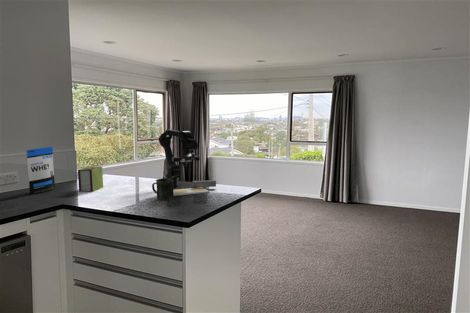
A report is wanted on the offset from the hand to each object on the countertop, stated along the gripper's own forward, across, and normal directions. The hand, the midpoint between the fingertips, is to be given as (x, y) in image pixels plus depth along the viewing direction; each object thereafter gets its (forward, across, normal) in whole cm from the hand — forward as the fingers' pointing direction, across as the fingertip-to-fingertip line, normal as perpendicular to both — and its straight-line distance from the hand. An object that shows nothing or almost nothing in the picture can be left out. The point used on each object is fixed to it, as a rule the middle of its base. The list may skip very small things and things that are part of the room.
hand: (186, 170), depth 247 cm
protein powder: (+13, -93, +35) cm, 100 cm away
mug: (+13, -21, -21) cm, 33 cm away
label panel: (+13, -1, -10) cm, 16 cm away
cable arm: (+11, +11, -5) cm, 17 cm away
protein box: (+13, -62, +27) cm, 69 cm away
